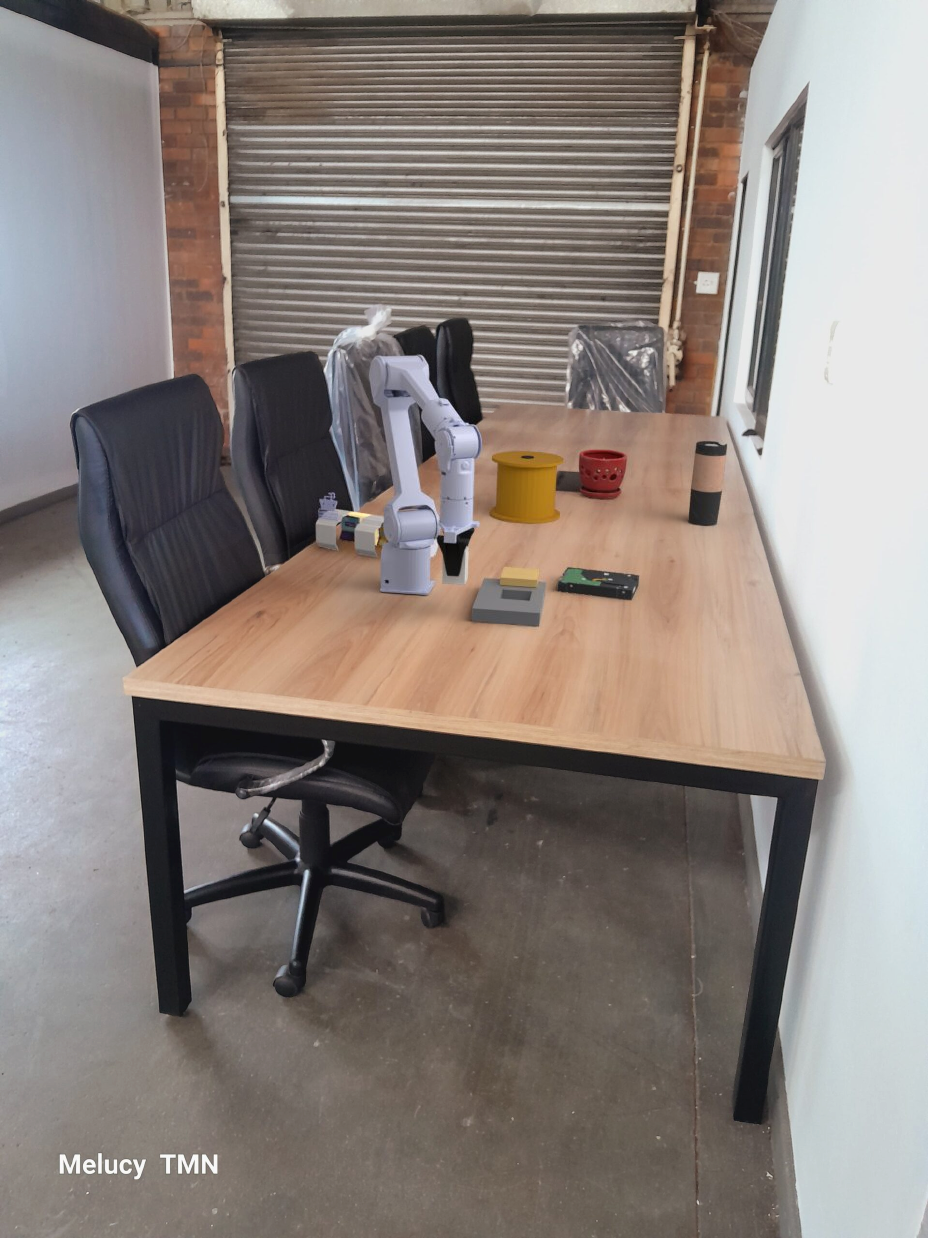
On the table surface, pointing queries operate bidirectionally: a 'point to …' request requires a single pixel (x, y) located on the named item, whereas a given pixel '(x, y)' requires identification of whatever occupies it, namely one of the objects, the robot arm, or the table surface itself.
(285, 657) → the table surface
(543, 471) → the spool
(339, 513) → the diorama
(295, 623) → the table surface
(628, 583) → the disk drive
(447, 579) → the plug
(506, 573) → the yellow flat square block
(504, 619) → the socket plate
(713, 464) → the travel mug
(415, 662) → the table surface
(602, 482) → the plant pot
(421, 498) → the robot arm
